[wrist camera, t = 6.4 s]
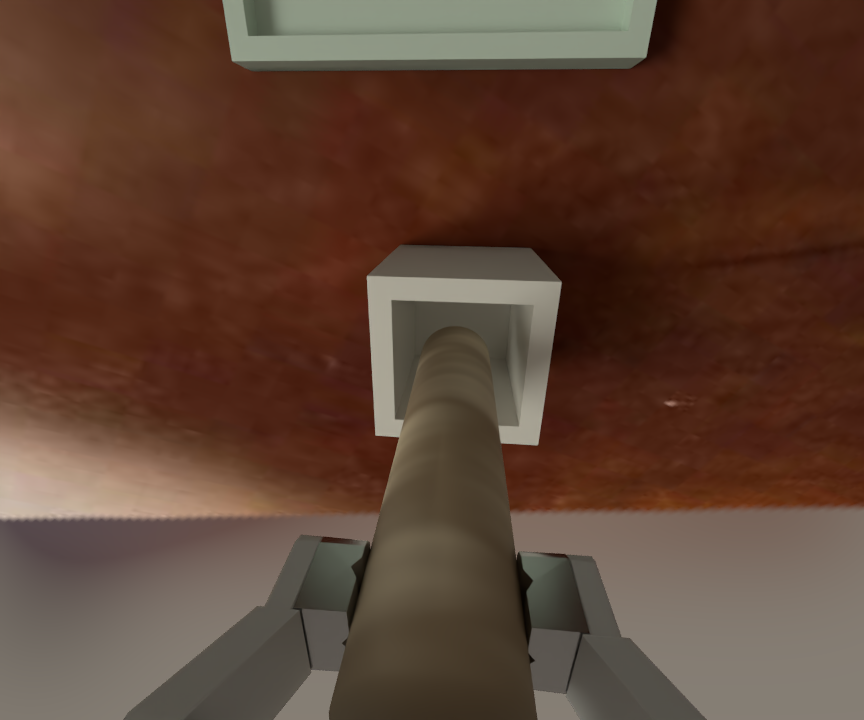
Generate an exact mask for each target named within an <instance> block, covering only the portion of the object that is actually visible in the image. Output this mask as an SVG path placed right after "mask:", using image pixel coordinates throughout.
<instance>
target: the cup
mask: <svg viewBox="0 0 864 720" xmlns="http://www.w3.org/2000/svg"><path fill="white" fill-rule="evenodd" d="M561 284H562V282H561V281H560V279H559V278H558V277H557V276H556V275H555V274H554V273H553V272H552V271H551V270H550V269H549V267H548V266H547V265H546V264H545V263H544V262H543V261H542V260H541V259H540V258H539V257H538V255H537V254H536V253H535V252H534V251H533V250H532V249H531V248H510V247H470V246H430V245H400V246H399V247H398V248H397V249H395V250H394V251H393V252H392V253H391V254H390V255H389V256H388V257H387V258H386V259H385V260H384V261H382V262H381V263H380V264H379V265H378V266H377V267H376V268H375V269H374V270H373V271H372V272H371V273H370V274H368V275H367V287H368V305H369V323H370V342H371V360H372V378H373V396H374V415H375V433H376V436H392V437H400V433H401V429H402V426H403V422H404V418H405V414H406V410H407V406H408V402H409V398H410V395H411V391H412V387H413V383H414V379H415V375H416V371H417V367H418V364H419V360H420V356H421V352H422V348H423V346H424V344H425V342H426V340H427V339H428V338H429V337H430V336H431V335H432V334H433V333H434V332H436V331H437V330H439V329H442V328H445V327H449V326H461V327H465V328H468V329H470V330H472V331H474V332H476V333H477V334H478V335H479V336H480V337H481V338H482V339H483V340H484V342H485V343H486V345H487V348H488V351H489V358H490V365H491V373H492V380H493V388H494V396H495V403H496V411H497V418H498V426H499V433H500V441H501V443H508V444H525V445H538V442H539V435H540V428H541V421H542V414H543V407H544V401H545V394H546V387H547V380H548V373H549V366H550V359H551V353H552V346H553V339H554V332H555V325H556V318H557V312H558V305H559V298H560V291H561Z"/></svg>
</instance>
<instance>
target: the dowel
mask: <svg viewBox="0 0 864 720" xmlns="http://www.w3.org/2000/svg"><path fill="white" fill-rule="evenodd" d="M329 720H537V713H536V706H535V698H534V691H533V683H532V675H531V668H530V660H529V652H528V645H527V638H526V630H525V623H524V615H523V607H522V600H521V592H520V585H519V577H518V570H517V562H516V554H515V547H514V539H513V532H512V524H511V516H510V509H509V501H508V494H507V486H506V479H505V471H504V464H503V456H502V448H501V441H500V433H499V426H498V418H497V411H496V403H495V396H494V388H493V380H492V373H491V365H490V358H489V351H488V348H487V345H486V343H485V342H484V340H483V339H482V338H481V337H480V336H479V335H478V334H477V333H476V332H474V331H472V330H470V329H468V328H465V327H461V326H449V327H445V328H442V329H439V330H437V331H436V332H434V333H433V334H432V335H431V336H430V337H429V338H428V339H427V340H426V342H425V344H424V346H423V348H422V352H421V356H420V360H419V364H418V367H417V371H416V375H415V379H414V383H413V387H412V391H411V395H410V398H409V402H408V406H407V410H406V414H405V418H404V422H403V426H402V429H401V433H400V437H399V441H398V445H397V449H396V453H395V457H394V460H393V464H392V468H391V472H390V476H389V480H388V484H387V488H386V491H385V495H384V499H383V503H382V507H381V511H380V515H379V519H378V522H377V527H376V530H375V534H374V538H373V542H372V546H371V550H370V553H369V557H368V561H367V565H366V569H365V573H364V577H363V581H362V585H361V588H360V592H359V596H358V600H357V604H356V608H355V612H354V616H353V619H352V623H351V627H350V631H349V635H348V639H347V643H346V647H345V650H344V654H343V658H342V662H341V666H340V670H339V674H338V678H337V682H336V686H335V690H334V693H333V697H332V701H331V705H330V710H329Z"/></svg>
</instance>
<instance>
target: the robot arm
mask: <svg viewBox="0 0 864 720" xmlns="http://www.w3.org/2000/svg"><path fill="white" fill-rule="evenodd" d="M369 553H370V542H368V541H362V540H352V539H341V538H332V537H321V536H309V535H301V536H300V537H299V538H298V539H297V540H296V541H295V543H294V545H293V547H292V550H291V552H290V554H289V556H288V558H287V560H286V562H285V564H284V566H283V568H282V571H281V573H280V575H279V577H278V579H277V581H276V583H275V585H274V587H273V590H272V592H271V594H270V596H269V598H268V600H267V602H266V604H265V606H264V607H262V606H257V607H256V608H254V609H253V610H252V611H251V612H250V613H249V614H247V615H246V616H245V617H244V618H243V619H241V620H240V621H239V622H237V623H236V624H235V625H234V626H233V627H231V628H230V629H229V630H228V631H227V632H225V633H224V634H223V635H222V636H221V637H219V638H218V639H217V640H216V641H214V642H213V643H212V644H211V645H210V646H208V647H207V648H206V649H205V650H203V651H202V652H201V653H200V654H199V655H197V656H196V657H195V658H194V659H193V660H191V661H190V662H189V663H188V664H186V665H185V666H184V667H183V668H182V669H180V670H179V671H178V672H177V673H176V674H174V675H173V676H172V677H171V678H170V679H168V680H167V681H166V682H165V683H163V684H162V685H161V686H160V687H159V688H157V689H156V690H155V691H154V692H153V693H151V694H150V695H149V696H148V697H146V698H145V699H144V700H143V701H142V702H140V703H139V704H138V705H137V706H136V707H134V708H133V709H132V710H131V711H129V712H128V713H127V715H126V717H125V718H124V720H273V719H274V718H275V717H276V715H277V714H278V713H279V712H280V711H281V709H282V708H283V707H284V706H285V704H286V703H287V702H288V701H289V699H290V698H291V697H292V696H293V695H294V693H295V692H296V691H297V690H298V688H299V687H300V686H301V685H302V683H303V682H304V681H305V680H306V679H307V677H308V676H309V675H310V673H311V670H325V671H339V670H340V666H341V662H342V658H343V654H344V650H345V647H346V643H347V639H348V635H349V631H350V627H351V623H352V619H353V616H354V612H355V608H356V604H357V600H358V596H359V592H360V588H361V585H362V581H363V577H364V573H365V569H366V565H367V561H368V557H369ZM516 562H517V570H518V577H519V585H520V592H521V600H522V607H523V615H524V623H525V630H526V638H527V645H528V652H529V660H530V668H531V675H532V683H533V690H538V691H547V692H554V693H563V694H566V698H567V699H568V701H569V702H570V704H571V706H572V707H573V709H574V710H575V712H576V713H577V715H578V717H579V718H580V720H707V719H706V718H705V717H704V716H702V715H701V713H700V712H699V711H698V710H697V709H696V708H695V707H694V706H693V705H692V704H691V703H690V702H689V700H688V699H687V698H686V697H685V696H684V695H683V694H682V693H681V692H680V691H679V690H678V689H677V688H676V687H675V686H674V685H673V684H672V683H671V681H670V680H669V679H667V677H666V676H665V675H664V674H663V673H662V672H661V671H660V670H659V669H658V668H657V667H656V666H655V664H653V662H652V661H651V660H650V659H649V658H648V657H647V656H646V655H645V654H644V653H643V652H642V651H641V650H640V649H639V648H638V647H637V645H636V644H635V643H634V642H633V641H632V640H631V639H630V638H623V637H621V634H620V631H619V629H618V626H617V623H616V620H615V617H614V614H613V611H612V608H611V605H610V602H609V599H608V597H607V594H606V591H605V588H604V585H603V582H602V579H601V576H600V573H599V571H598V568H597V565H596V562H595V560H594V559H593V558H592V557H591V556H577V555H565V554H555V553H538V552H520V551H519V552H518V555H517V560H516Z"/></svg>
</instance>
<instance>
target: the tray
mask: <svg viewBox="0 0 864 720" xmlns="http://www.w3.org/2000/svg"><path fill="white" fill-rule="evenodd" d="M656 3H657V0H223V6H224V12H225V19H226V25H227V31H228V38H229V44H230V50H231V57H232V61H233V62H235V63H237V64H239V65H241V66H243V67H245V68H247V69H249V70H251V71H355V70H498V69H630V68H632V67H633V66H635V65H636V64H638V63H639V62H640V61H642V60H643V59H645V58H646V55H647V50H648V45H649V40H650V34H651V29H652V24H653V18H654V13H655V8H656Z"/></svg>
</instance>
